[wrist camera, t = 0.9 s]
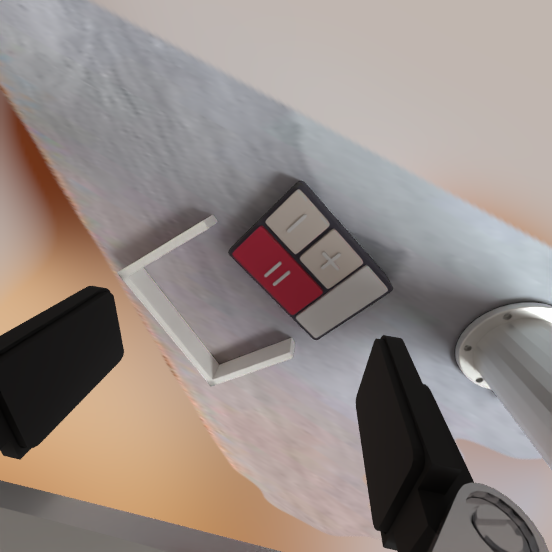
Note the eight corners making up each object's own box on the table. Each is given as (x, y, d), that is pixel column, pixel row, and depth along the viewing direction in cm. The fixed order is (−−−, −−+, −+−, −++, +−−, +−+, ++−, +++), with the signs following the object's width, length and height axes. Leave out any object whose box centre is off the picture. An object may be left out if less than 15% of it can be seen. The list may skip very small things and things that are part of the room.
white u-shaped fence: (295, 342, 36) (293, 357, 34) (217, 371, 41) (210, 386, 38) (213, 214, 30) (203, 220, 28) (132, 263, 35) (117, 272, 32)
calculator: (298, 180, 25) (397, 292, 27) (302, 178, 28) (387, 276, 31) (223, 254, 29) (315, 345, 31) (235, 243, 33) (316, 325, 35)
